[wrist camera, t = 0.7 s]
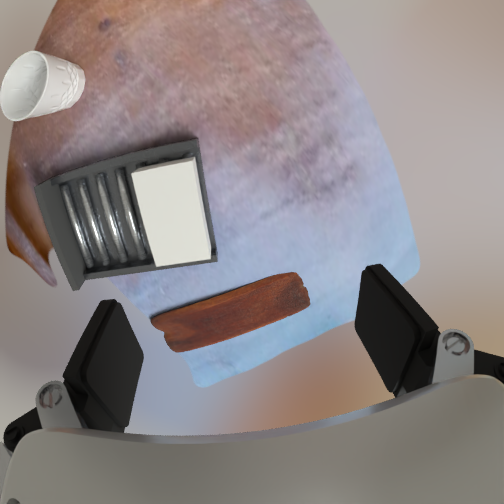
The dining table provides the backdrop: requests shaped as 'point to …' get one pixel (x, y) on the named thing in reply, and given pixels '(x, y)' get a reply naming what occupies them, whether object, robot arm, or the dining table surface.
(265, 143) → the dining table surface
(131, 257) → the roller track
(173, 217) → the slab
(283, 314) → the wooden tablet
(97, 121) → the dining table surface
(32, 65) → the white cup
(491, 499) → the robot arm
